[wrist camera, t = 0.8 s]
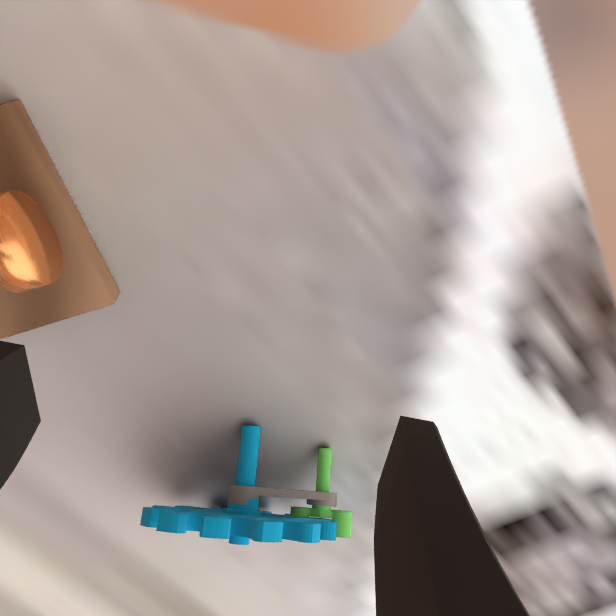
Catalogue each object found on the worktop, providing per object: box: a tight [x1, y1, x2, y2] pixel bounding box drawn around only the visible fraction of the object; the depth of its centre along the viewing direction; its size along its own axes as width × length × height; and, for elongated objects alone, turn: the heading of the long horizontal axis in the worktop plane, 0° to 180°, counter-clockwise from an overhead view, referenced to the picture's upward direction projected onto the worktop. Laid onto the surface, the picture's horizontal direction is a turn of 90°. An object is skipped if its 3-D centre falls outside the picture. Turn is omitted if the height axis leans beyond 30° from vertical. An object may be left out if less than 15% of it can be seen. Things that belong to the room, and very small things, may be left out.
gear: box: [140, 425, 352, 545], centre depth 29 cm, size 11×6×10 cm
